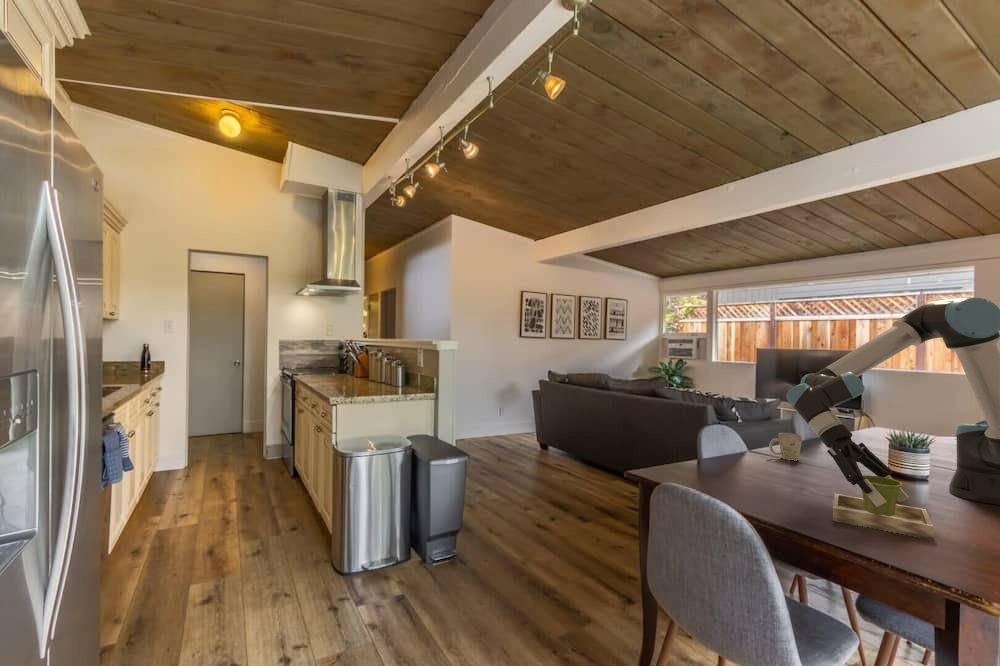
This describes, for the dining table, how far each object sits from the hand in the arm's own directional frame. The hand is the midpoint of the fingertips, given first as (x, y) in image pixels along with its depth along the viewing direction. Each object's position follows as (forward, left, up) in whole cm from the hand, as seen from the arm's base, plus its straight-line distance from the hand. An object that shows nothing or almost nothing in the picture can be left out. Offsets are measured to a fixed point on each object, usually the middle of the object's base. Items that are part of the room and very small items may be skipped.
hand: (893, 501), depth 123 cm
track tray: (+3, -2, -6) cm, 7 cm away
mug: (+31, -64, -7) cm, 71 cm away
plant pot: (+3, -2, -4) cm, 5 cm away
